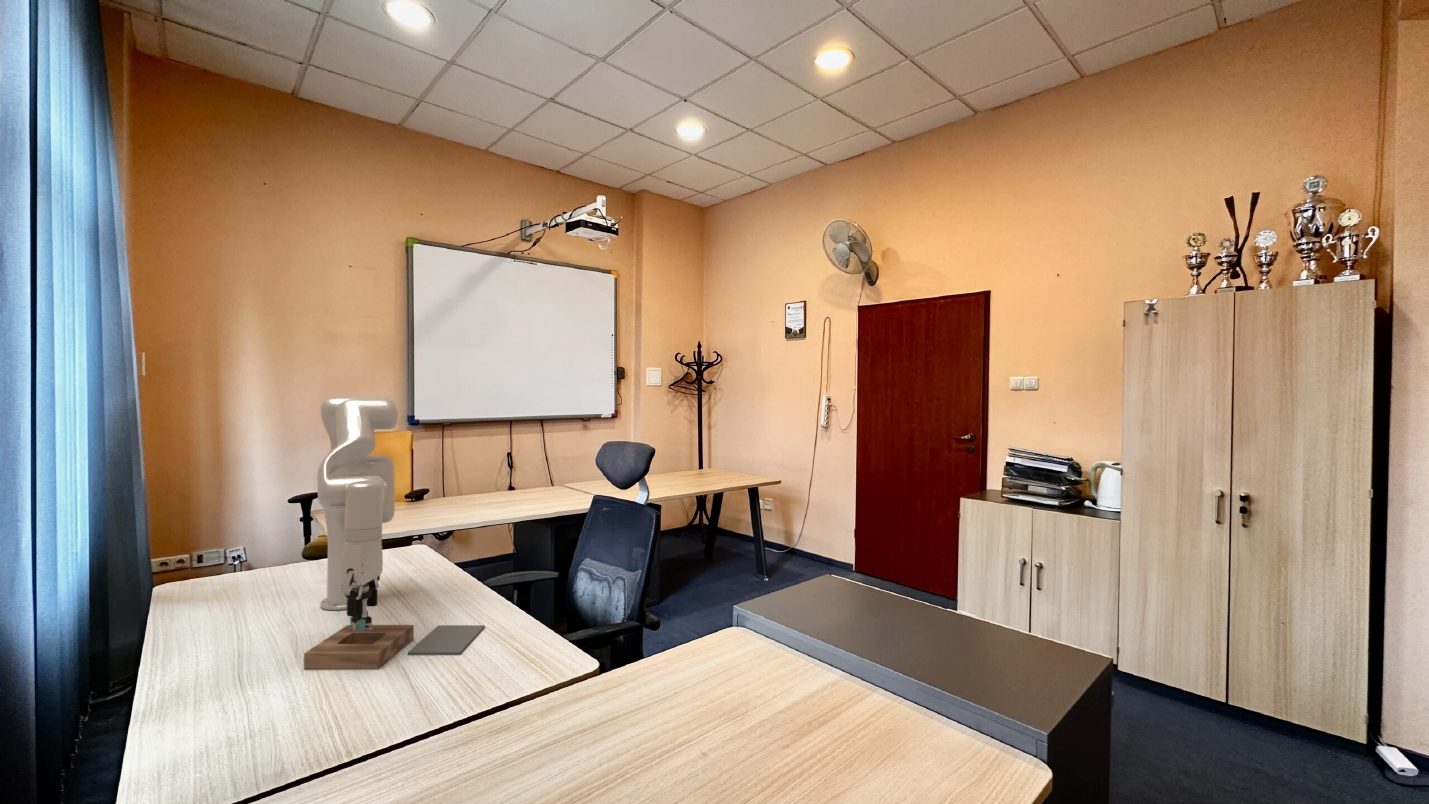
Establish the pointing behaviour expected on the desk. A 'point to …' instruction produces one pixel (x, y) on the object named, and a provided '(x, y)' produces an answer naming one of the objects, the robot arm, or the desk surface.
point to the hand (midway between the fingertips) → (362, 609)
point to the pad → (447, 640)
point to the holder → (359, 647)
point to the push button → (363, 620)
